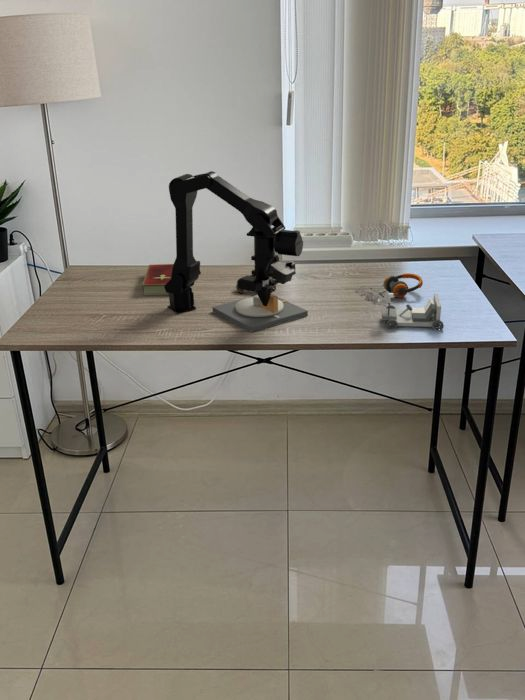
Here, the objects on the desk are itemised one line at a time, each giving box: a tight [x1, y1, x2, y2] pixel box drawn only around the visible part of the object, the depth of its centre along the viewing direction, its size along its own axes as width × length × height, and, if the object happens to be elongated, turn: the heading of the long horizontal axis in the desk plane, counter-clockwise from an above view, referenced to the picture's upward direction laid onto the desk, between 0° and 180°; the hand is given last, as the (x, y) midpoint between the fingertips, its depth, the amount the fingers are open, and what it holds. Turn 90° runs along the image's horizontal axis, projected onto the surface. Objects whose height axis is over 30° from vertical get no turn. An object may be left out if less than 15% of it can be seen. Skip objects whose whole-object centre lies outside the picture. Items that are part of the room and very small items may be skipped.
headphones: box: [355, 272, 424, 304], centre depth 226 cm, size 16×5×20 cm
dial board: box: [212, 295, 309, 333], centre depth 215 cm, size 20×20×2 cm
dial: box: [236, 293, 283, 317], centre depth 213 cm, size 14×14×6 cm
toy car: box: [377, 291, 445, 331], centre depth 205 cm, size 18×10×12 cm
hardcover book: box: [141, 263, 174, 296], centre depth 240 cm, size 12×21×4 cm, turn 2°
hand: (265, 305), depth 208 cm, fingers closed
